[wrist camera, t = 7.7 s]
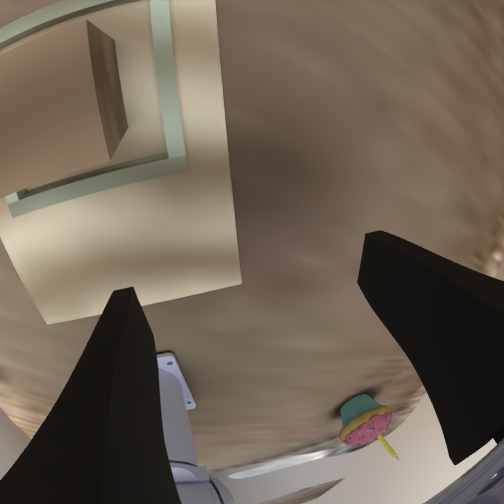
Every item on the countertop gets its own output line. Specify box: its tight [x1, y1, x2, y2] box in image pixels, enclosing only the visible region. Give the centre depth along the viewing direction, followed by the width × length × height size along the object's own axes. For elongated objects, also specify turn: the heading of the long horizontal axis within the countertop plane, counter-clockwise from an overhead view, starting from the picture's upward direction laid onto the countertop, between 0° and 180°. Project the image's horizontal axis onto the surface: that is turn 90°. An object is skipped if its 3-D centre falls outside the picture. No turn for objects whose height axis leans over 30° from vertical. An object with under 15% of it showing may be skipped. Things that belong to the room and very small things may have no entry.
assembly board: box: [0, 0, 242, 324], centre depth 13 cm, size 18×14×2 cm
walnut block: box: [0, 19, 128, 198], centre depth 9 cm, size 4×4×6 cm
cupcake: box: [339, 394, 399, 460], centre depth 36 cm, size 9×8×12 cm
